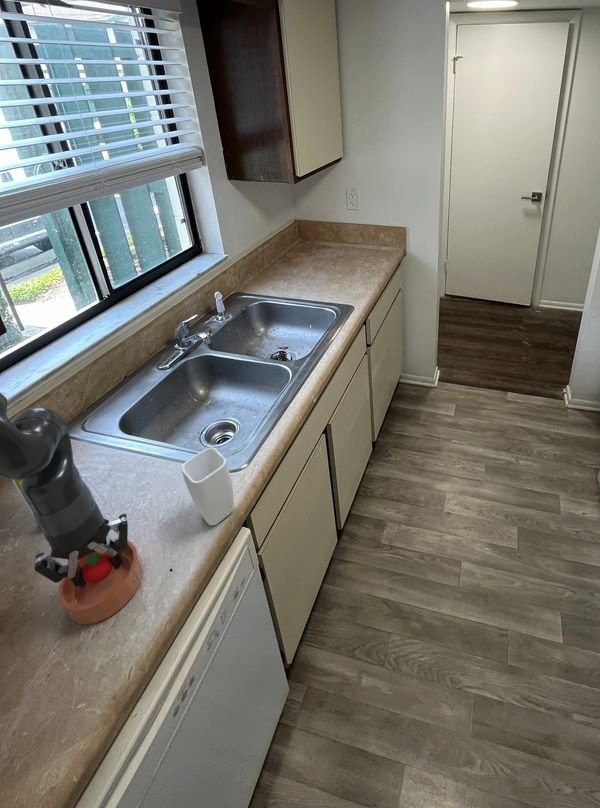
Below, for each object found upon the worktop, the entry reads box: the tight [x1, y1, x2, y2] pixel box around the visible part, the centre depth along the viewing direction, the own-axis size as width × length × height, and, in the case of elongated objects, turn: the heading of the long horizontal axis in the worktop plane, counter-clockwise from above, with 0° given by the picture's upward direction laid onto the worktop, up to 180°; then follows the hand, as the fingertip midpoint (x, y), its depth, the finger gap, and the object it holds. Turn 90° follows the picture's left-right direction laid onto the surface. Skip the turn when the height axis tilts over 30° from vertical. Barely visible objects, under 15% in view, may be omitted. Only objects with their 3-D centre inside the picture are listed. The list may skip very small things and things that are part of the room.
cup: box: [180, 446, 235, 526], centre depth 92 cm, size 7×7×15 cm
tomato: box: [81, 553, 113, 584], centre depth 79 cm, size 5×5×5 cm
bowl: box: [57, 538, 145, 625], centre depth 81 cm, size 12×12×5 cm
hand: (100, 573), depth 80 cm, fingers closed on tomato, 4 cm apart
